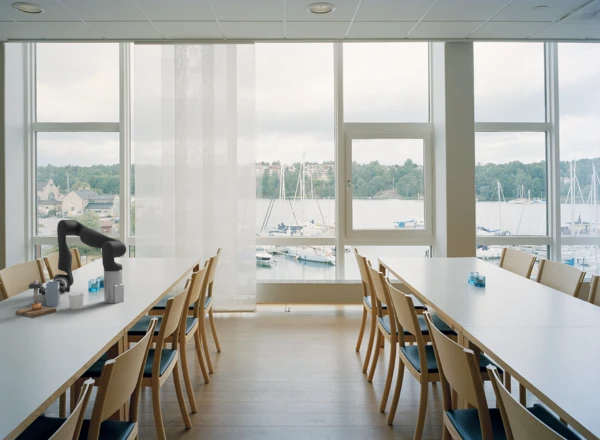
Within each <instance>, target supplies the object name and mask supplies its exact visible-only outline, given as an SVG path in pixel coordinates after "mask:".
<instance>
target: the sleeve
mask: <svg viewBox="0 0 600 440" xmlns="http://www.w3.org/2000/svg"><path fill="white" fill-rule="evenodd" d="M45 288H46V290H45V292H46V294H45V295H46V307H49V308H51V307H58V306H59V305H60V304H61V302H60V301H61V296H60V295H61V294H60V284H59V281H54V282H53V281H48V282H46V284H45Z"/></svg>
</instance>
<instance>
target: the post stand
mask: <svg viewBox="0 0 600 440" xmlns="http://www.w3.org/2000/svg"><path fill="white" fill-rule="evenodd" d="M38 282H39V280H38V279H34V280H33V283H34V284H38ZM57 311H58V309H57V308H53V307H47V306H43V305H42V303H41V302H39V288H37V289H33V303H31V306H29V307H25V308H22V309H17V310H15V314H17V315H21V316H25V317H30V318H39V317H42V316H47V315H49V314H53V313H57Z"/></svg>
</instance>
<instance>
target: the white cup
mask: <svg viewBox="0 0 600 440" xmlns="http://www.w3.org/2000/svg"><path fill="white" fill-rule="evenodd" d="M84 296H85V294H84V293H83V292H77V293H76V292H75V293H70V294H69V295H68V301H69V309H71V310H79V309H82V308H83V307H84Z"/></svg>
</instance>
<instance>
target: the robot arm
mask: <svg viewBox="0 0 600 440" xmlns="http://www.w3.org/2000/svg"><path fill="white" fill-rule="evenodd" d="M56 231H57V232H56V234H57V236H56V237H57V245H58V261H57V262H58V263H57V270H59V271H60V272H61V271H62V272H65V273H66V274H63V273H61V274H60V273H59V274H55V275H54V277H53V278H52V279H53V280H52V282H54V281H59V284H60V295H63V294H65V293H66V292H67V293H70V292H71V286H73V284H74V275H73V271H72V264H73V255H72V254H73V253H72V252H71V249H70V248H69V246H68V244H67V236H74V237H75V236H76V237H78V238H79V240H80V241H81V242H82V243H83V244H84V245H86V246H88V247H90V248H94V249H100V250H101V259H102V260H101V261H102V266H103V267H102V268H103V298H104V300H103V302H104V303H105V304H118V303H122V302H124V301H125V288H124V287H125V284H124V283H123V264H121V263H118V262H115V258H121V257H123V256H124V255H125V254H126V252H127V247H126V244H125V243H124V242H123V241H121V240H120V239H116V238H113V237H109V236H107V235H105V234H103V233H101V232H99V231H97V230H95V229H93V228H91V227H88V226H86V225H84V224H83V223H82V222H79V221H78V220H75V219H61V220H59V221H58V223H57V227H56ZM38 295H42V296H45V295H46V286H42V287H41V288H38Z"/></svg>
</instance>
